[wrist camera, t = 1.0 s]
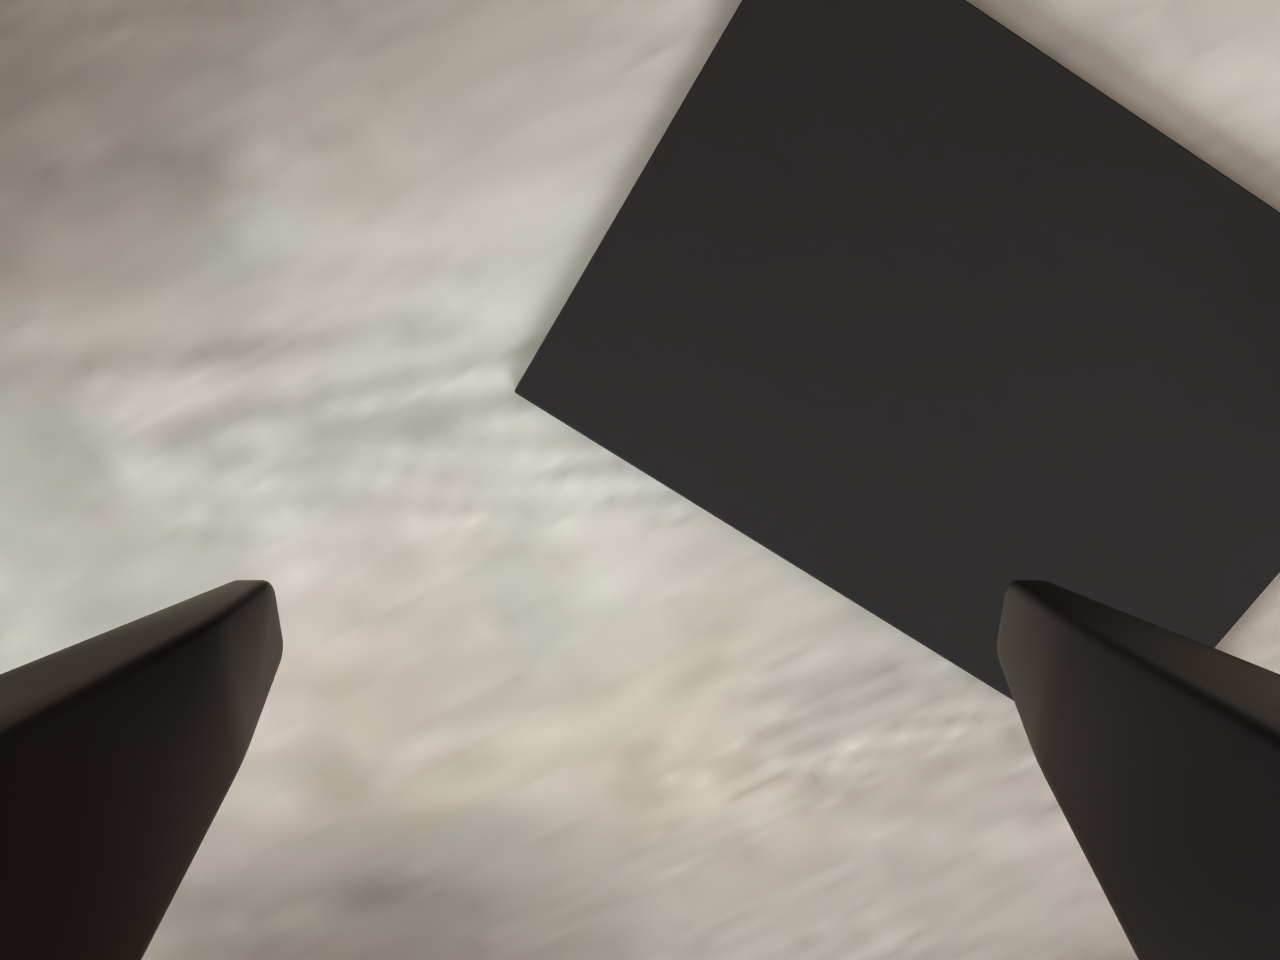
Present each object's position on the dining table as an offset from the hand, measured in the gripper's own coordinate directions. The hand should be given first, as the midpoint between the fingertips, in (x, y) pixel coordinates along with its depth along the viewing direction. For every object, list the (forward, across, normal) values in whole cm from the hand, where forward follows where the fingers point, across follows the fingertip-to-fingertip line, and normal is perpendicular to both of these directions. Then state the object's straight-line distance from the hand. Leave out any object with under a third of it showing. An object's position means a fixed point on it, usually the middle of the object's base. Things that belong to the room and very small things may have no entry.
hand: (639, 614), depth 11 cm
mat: (+14, -9, 0) cm, 16 cm away
